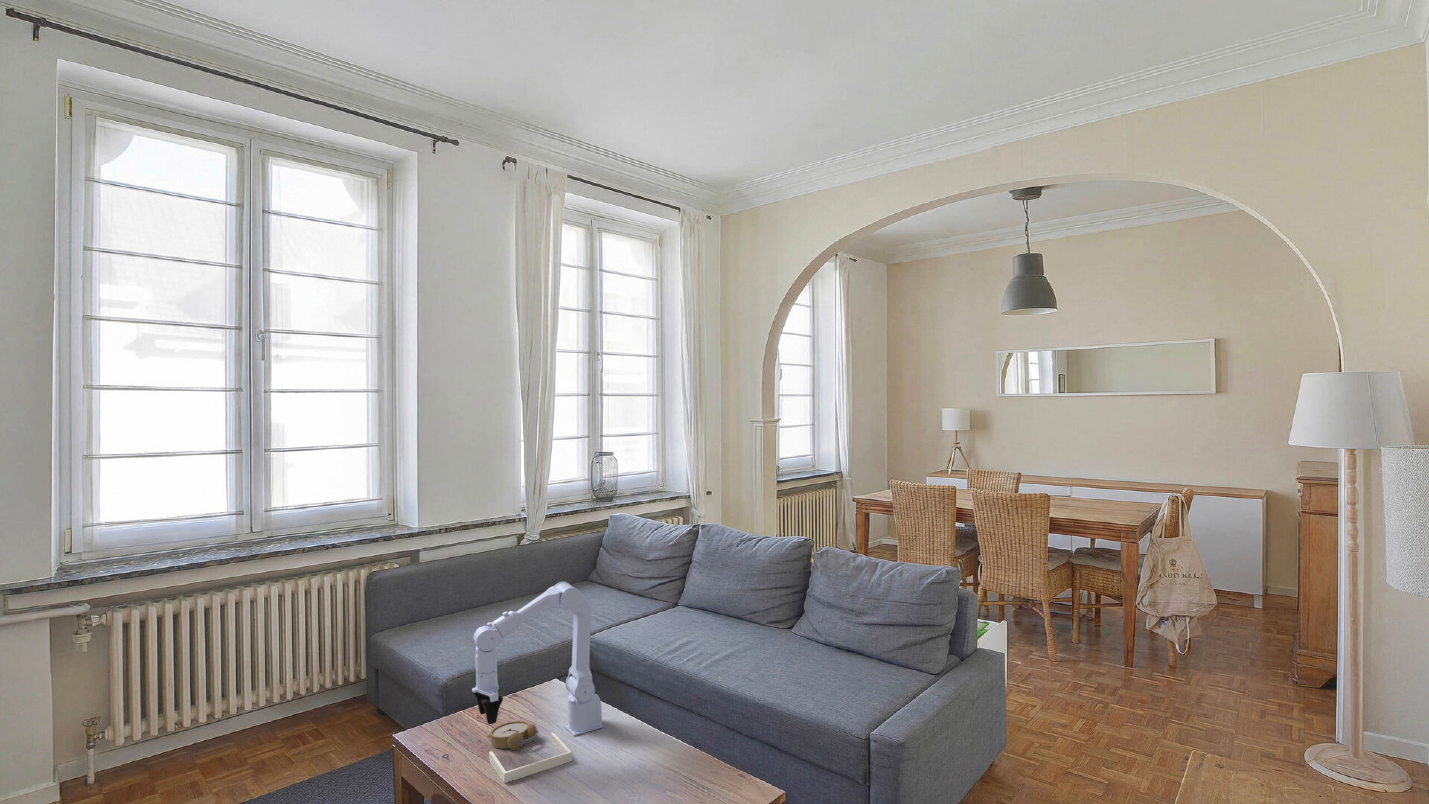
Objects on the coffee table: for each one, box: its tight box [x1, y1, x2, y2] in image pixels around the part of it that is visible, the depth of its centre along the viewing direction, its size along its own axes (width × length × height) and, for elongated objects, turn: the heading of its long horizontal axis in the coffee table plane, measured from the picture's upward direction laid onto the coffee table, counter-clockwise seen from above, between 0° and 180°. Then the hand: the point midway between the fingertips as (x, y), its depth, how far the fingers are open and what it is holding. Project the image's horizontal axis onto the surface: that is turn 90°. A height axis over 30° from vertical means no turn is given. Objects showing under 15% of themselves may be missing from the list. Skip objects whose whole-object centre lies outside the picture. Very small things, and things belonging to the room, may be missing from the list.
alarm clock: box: [486, 720, 539, 751], centre depth 203 cm, size 11×5×15 cm
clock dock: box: [488, 732, 573, 784], centre depth 191 cm, size 19×14×2 cm
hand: (488, 718), depth 196 cm, fingers open, 7 cm apart
